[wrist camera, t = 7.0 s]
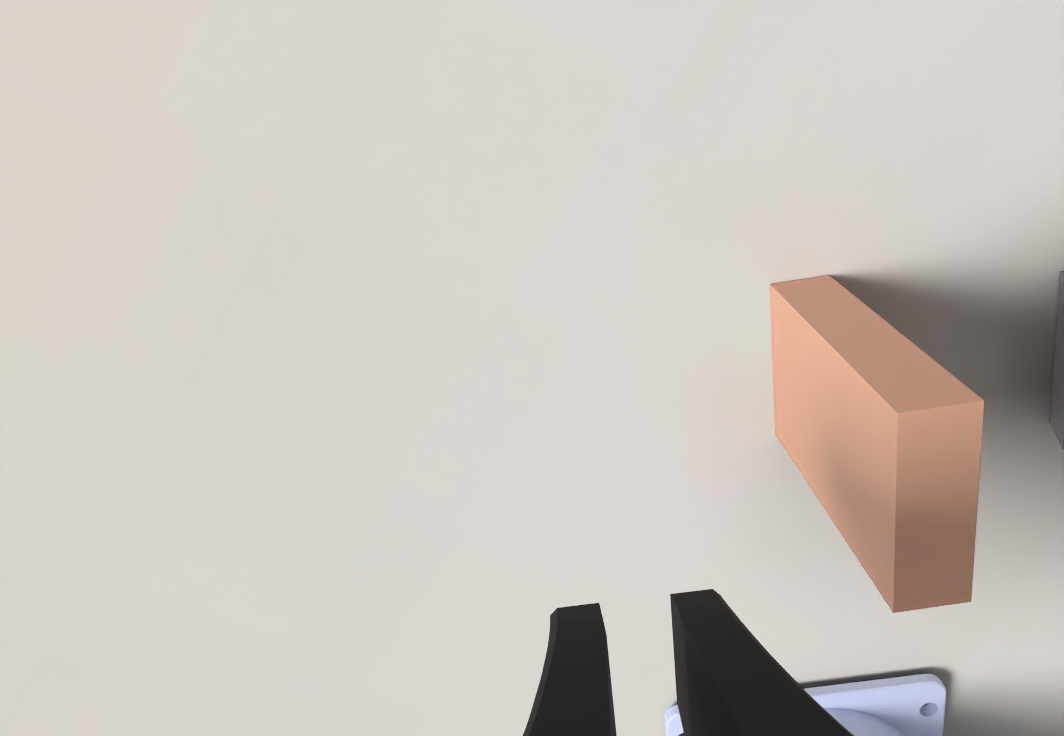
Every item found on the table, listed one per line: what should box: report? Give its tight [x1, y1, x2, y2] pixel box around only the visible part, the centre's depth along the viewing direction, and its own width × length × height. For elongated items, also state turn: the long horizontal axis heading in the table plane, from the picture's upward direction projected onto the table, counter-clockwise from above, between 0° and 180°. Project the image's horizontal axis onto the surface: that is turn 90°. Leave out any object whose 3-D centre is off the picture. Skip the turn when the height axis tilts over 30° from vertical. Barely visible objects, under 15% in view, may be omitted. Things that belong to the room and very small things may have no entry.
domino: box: [770, 275, 984, 613], centre depth 18 cm, size 4×1×7 cm, turn 8°
